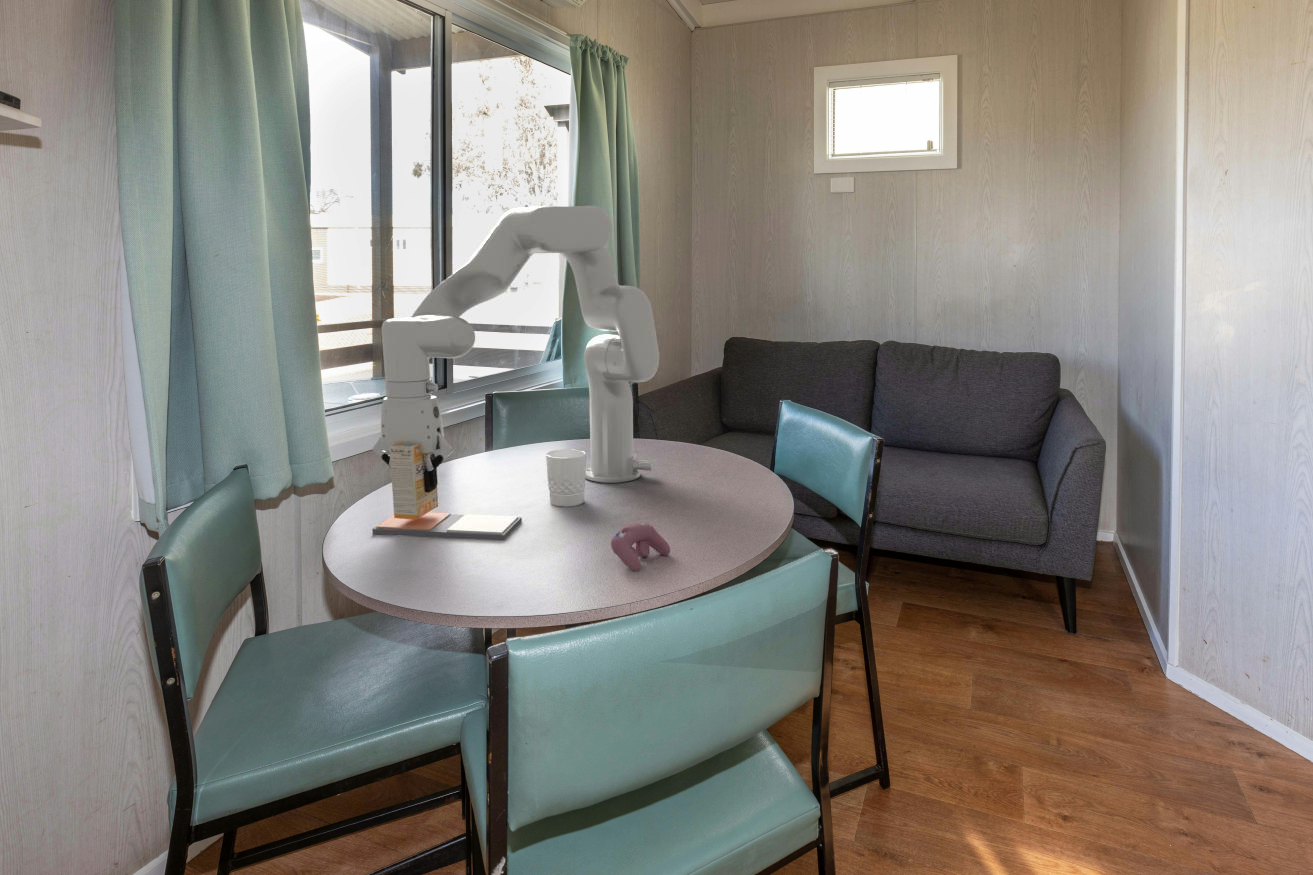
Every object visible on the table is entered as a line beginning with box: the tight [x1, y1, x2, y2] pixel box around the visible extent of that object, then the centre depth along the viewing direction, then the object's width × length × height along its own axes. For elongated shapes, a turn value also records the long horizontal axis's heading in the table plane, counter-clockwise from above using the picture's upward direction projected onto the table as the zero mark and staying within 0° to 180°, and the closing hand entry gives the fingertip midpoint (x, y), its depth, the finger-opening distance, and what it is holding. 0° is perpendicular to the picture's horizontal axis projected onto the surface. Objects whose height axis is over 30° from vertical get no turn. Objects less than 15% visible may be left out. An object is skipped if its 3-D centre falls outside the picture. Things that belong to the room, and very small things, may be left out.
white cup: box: [545, 448, 587, 508], centre depth 159 cm, size 8×8×10 cm
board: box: [371, 512, 523, 542], centre depth 144 cm, size 24×10×1 cm, turn 82°
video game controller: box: [610, 522, 671, 572], centre depth 128 cm, size 10×5×7 cm, turn 146°
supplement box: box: [389, 445, 439, 520], centre depth 143 cm, size 8×5×13 cm, turn 168°
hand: (415, 489), depth 143 cm, fingers closed on supplement box, 5 cm apart
